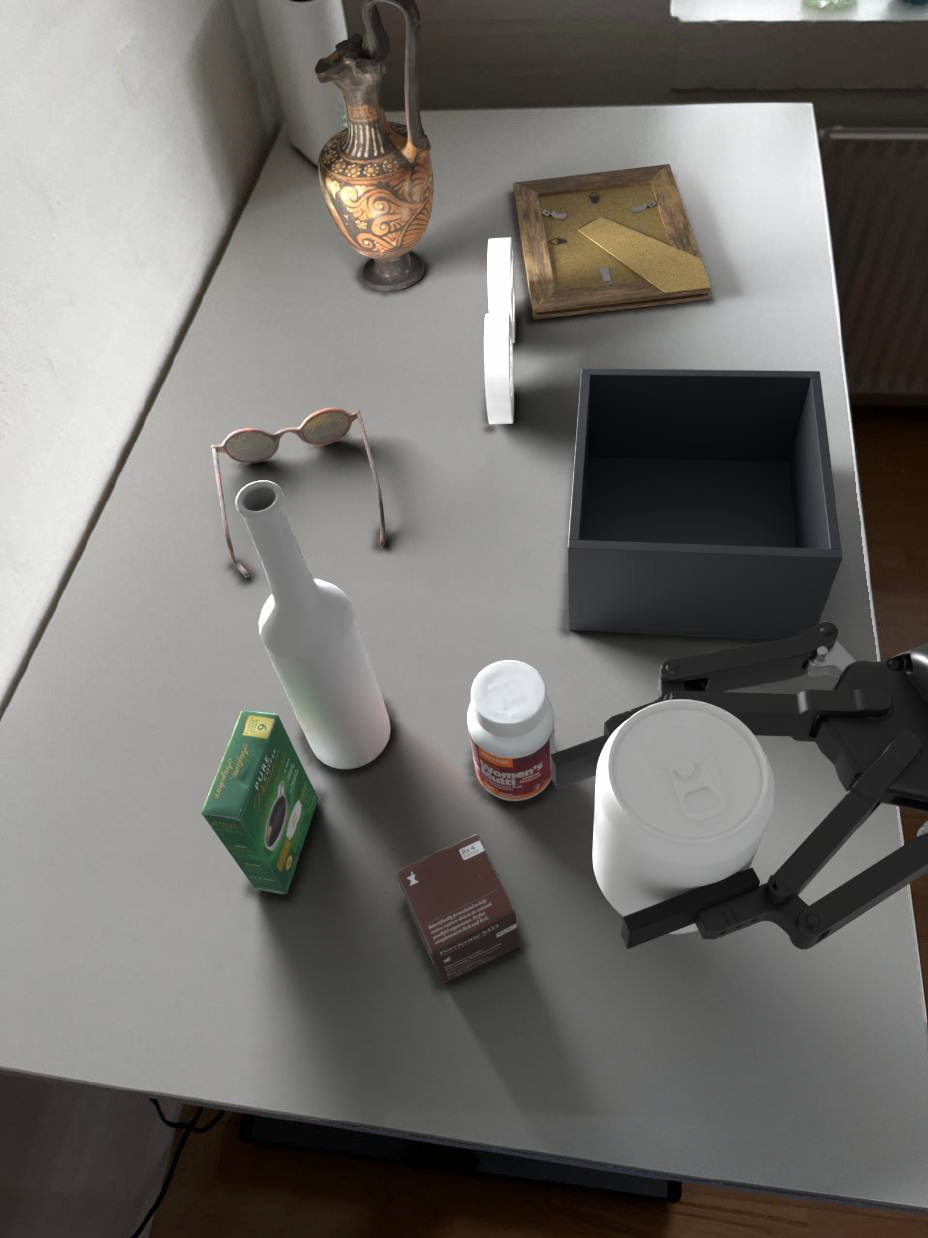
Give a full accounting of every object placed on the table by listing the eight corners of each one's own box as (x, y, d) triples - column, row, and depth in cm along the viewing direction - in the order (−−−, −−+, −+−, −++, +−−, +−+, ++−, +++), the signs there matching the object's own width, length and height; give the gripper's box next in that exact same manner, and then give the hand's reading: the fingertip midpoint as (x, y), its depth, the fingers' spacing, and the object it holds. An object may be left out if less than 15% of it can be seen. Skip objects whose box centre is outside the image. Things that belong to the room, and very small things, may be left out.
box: (441, 986, 67) (428, 955, 61) (408, 907, 70) (392, 870, 64) (522, 947, 68) (517, 913, 62) (485, 870, 71) (477, 831, 65)
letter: (513, 445, 95) (507, 364, 86) (490, 446, 95) (482, 365, 87) (515, 299, 107) (510, 215, 99) (495, 300, 107) (489, 217, 99)
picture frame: (709, 301, 104) (668, 175, 117) (711, 286, 102) (669, 161, 116) (533, 321, 105) (513, 194, 118) (533, 307, 103) (512, 180, 117)
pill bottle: (479, 808, 74) (466, 737, 64) (472, 735, 77) (458, 659, 68) (561, 798, 74) (559, 726, 64) (550, 726, 77) (547, 648, 68)
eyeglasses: (365, 432, 97) (356, 394, 93) (394, 544, 89) (386, 507, 85) (220, 467, 96) (204, 430, 92) (236, 583, 88) (219, 548, 84)
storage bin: (812, 642, 79) (842, 557, 70) (568, 630, 82) (567, 547, 73) (795, 463, 90) (820, 370, 81) (580, 458, 93) (581, 367, 84)
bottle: (376, 684, 81) (299, 440, 58) (401, 751, 77) (329, 519, 54) (299, 712, 80) (190, 476, 57) (321, 781, 76) (213, 558, 53)
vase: (362, 238, 116) (306, -48, 91) (463, 247, 113) (433, -45, 88) (328, 301, 110) (258, 13, 85) (434, 313, 107) (393, 19, 82)
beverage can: (704, 778, 57) (732, 669, 47) (768, 911, 52) (813, 821, 42) (571, 820, 56) (571, 718, 46) (624, 958, 51) (636, 878, 42)
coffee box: (286, 788, 76) (239, 705, 65) (321, 795, 75) (280, 711, 65) (252, 889, 72) (195, 817, 61) (289, 896, 71) (238, 825, 60)
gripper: (1103, 908, 48) (676, 1081, 45) (865, 588, 60) (515, 712, 57) (1181, 851, 42) (692, 1048, 39) (899, 507, 53) (508, 641, 51)
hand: (587, 848), depth 48 cm, fingers closed on beverage can, 8 cm apart
